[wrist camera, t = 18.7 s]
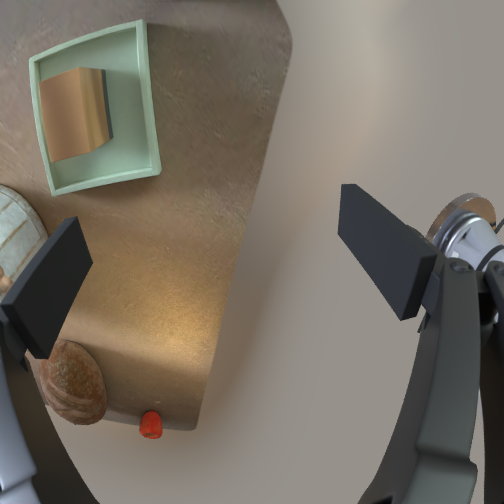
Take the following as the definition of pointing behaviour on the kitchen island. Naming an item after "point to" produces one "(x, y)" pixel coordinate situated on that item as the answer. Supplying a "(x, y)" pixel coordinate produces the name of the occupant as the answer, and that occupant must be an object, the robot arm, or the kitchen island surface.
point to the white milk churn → (17, 236)
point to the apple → (151, 425)
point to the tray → (120, 105)
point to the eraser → (75, 112)
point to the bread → (73, 384)
